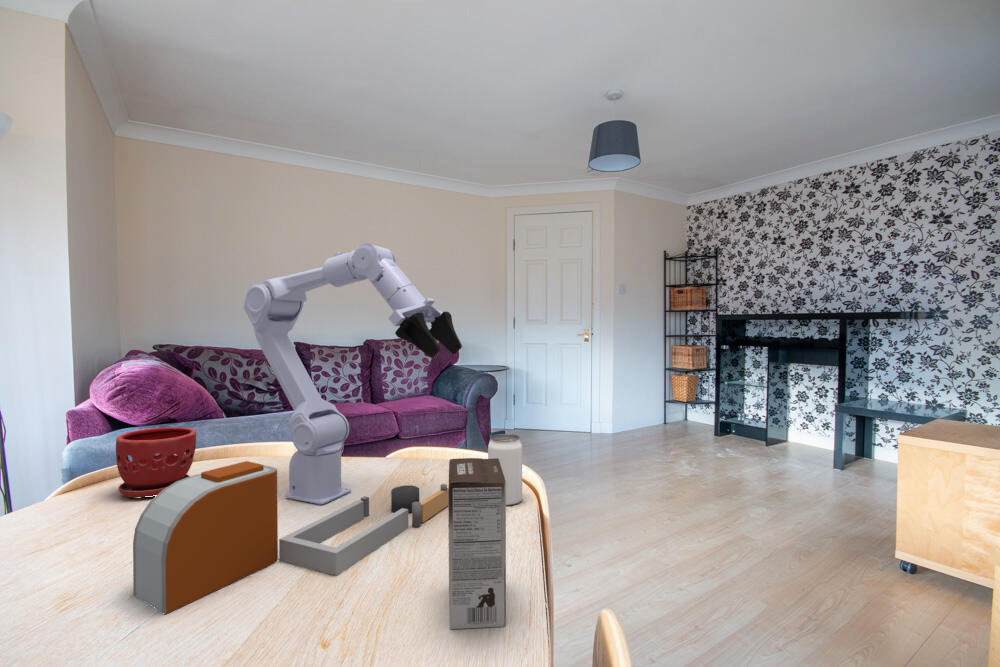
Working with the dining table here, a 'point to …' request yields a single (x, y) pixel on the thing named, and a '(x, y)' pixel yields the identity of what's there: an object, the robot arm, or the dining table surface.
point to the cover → (429, 506)
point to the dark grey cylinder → (404, 498)
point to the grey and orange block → (205, 534)
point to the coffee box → (477, 543)
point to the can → (508, 463)
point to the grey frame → (335, 560)
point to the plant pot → (154, 459)
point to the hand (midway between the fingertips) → (447, 352)
